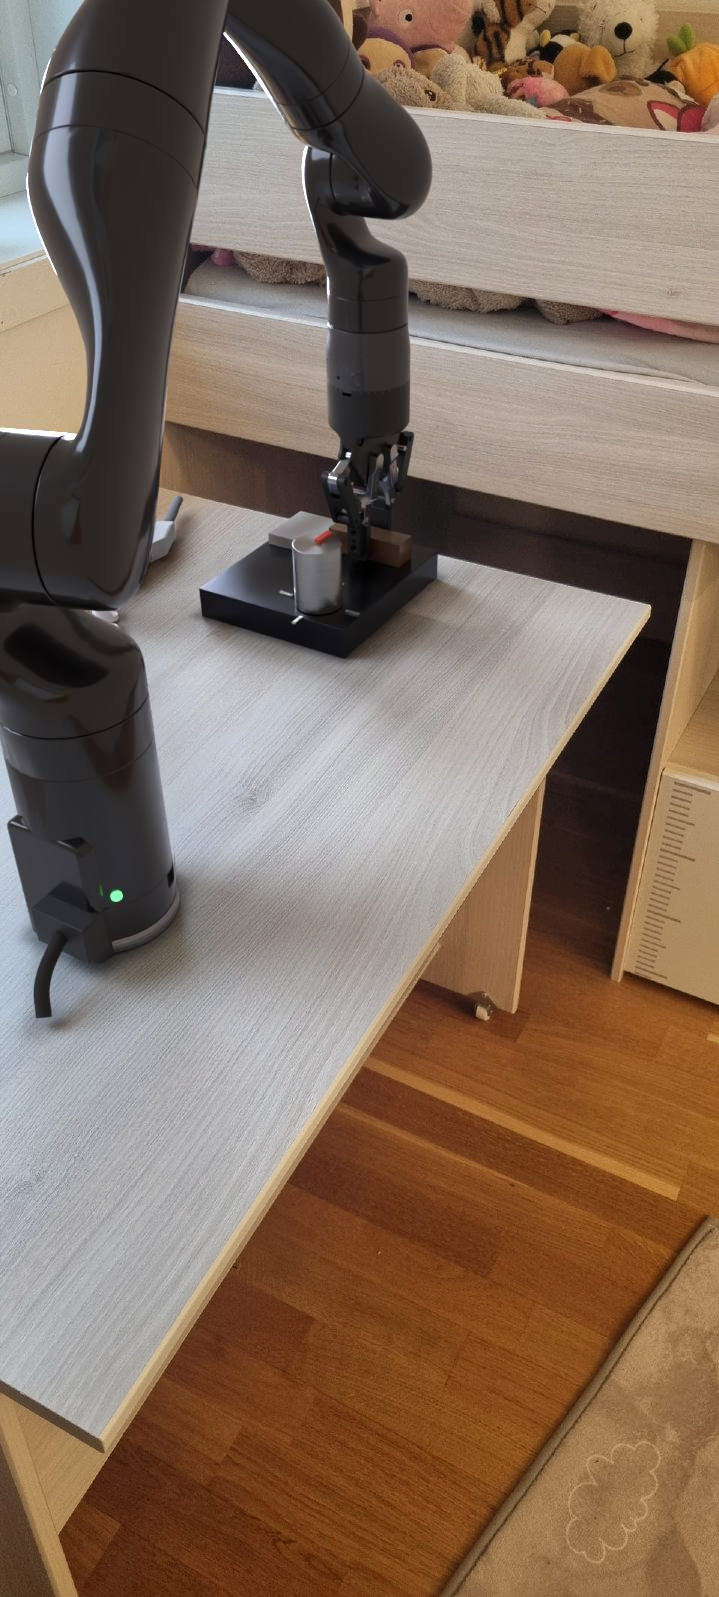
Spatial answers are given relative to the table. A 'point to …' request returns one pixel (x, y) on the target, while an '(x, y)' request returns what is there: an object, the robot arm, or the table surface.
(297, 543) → the hob knob
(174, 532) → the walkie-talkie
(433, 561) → the hob
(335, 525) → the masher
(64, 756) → the robot arm
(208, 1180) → the table surface
